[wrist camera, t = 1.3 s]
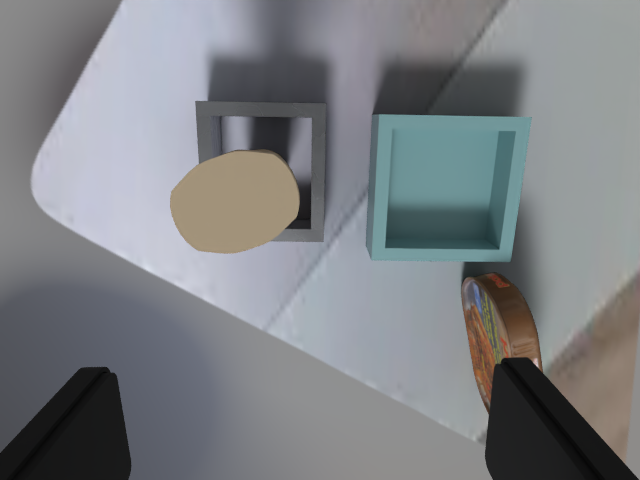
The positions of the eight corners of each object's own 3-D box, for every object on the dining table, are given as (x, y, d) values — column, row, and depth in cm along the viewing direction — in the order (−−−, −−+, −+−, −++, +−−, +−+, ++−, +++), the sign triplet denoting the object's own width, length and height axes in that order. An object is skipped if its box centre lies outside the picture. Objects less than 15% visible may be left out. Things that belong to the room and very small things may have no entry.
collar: (207, 102, 34) (195, 101, 31) (325, 104, 34) (326, 103, 31) (213, 229, 37) (203, 240, 34) (322, 230, 37) (323, 241, 34)
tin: (455, 264, 38) (493, 303, 30) (490, 255, 38) (538, 293, 30) (478, 404, 42) (517, 472, 34) (510, 397, 42) (557, 464, 34)
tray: (372, 114, 35) (379, 114, 31) (507, 117, 35) (531, 117, 31) (365, 245, 38) (371, 260, 34) (490, 247, 38) (510, 262, 34)
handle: (313, 183, 36) (312, 227, 22) (242, 208, 37) (195, 267, 22) (293, 127, 35) (278, 134, 20) (220, 154, 35) (154, 179, 21)
